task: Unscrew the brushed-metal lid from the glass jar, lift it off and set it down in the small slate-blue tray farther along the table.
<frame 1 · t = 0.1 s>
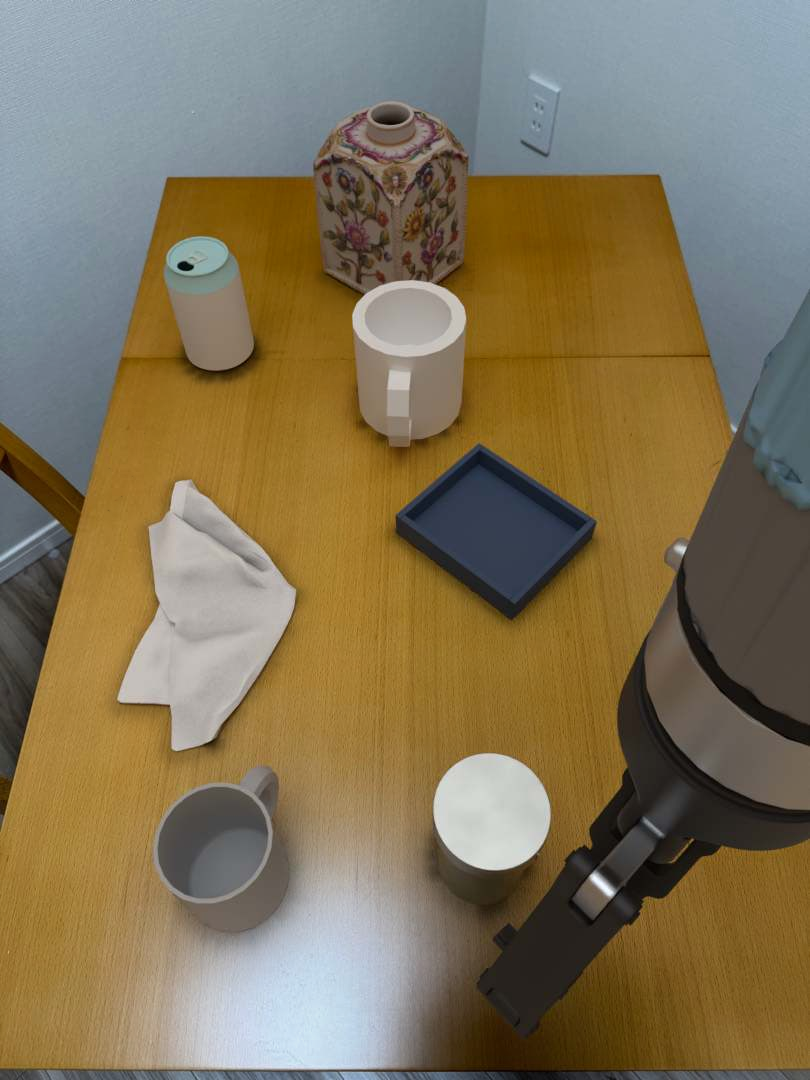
hand: (624, 873, 43), 17 cm above the table, tool pointing down, fingers open, 13 cm apart
lid: (491, 812, 51), point 11 cm above the table, screwed on, not yet turned
jar: (480, 859, 60), on the table
tray: (493, 535, 76), on the table
mug: (407, 410, 85), on the table
cloth: (214, 604, 72), on the table
cup: (248, 859, 60), on the table
decorative jar: (393, 269, 97), on the table
can: (221, 353, 90), on the table
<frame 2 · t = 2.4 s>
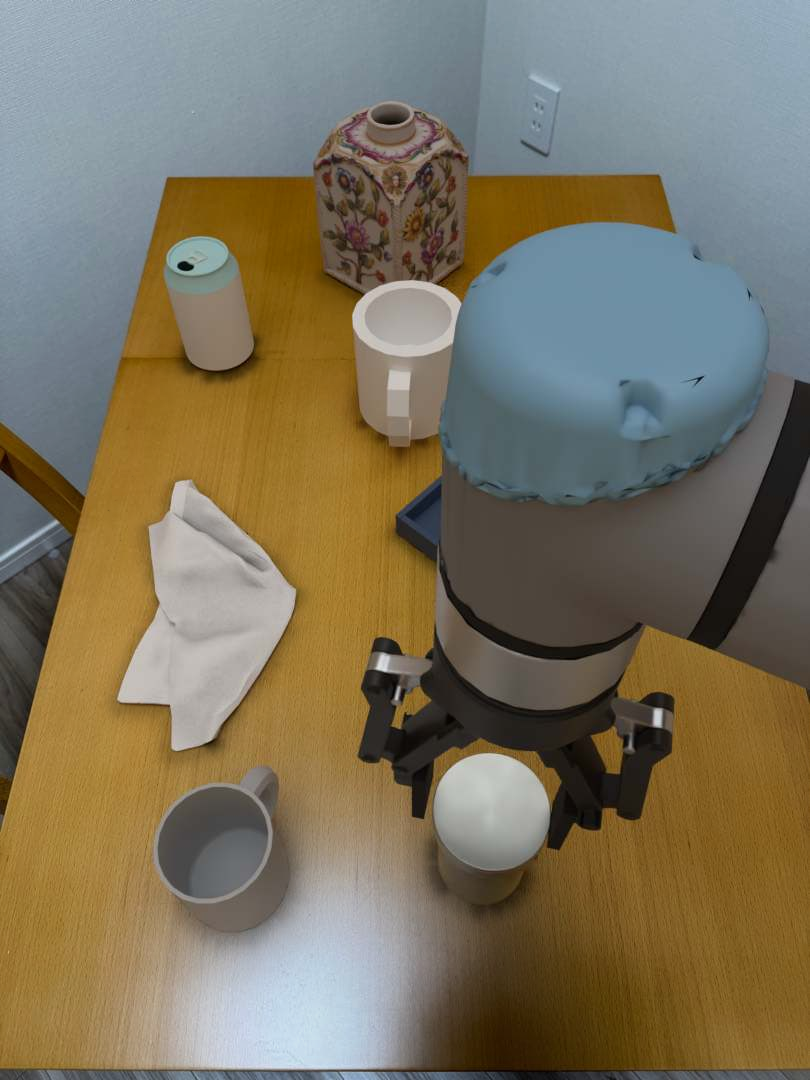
hand: (488, 810, 51), 11 cm above the table, tool pointing down, fingers open, 7 cm apart
nothing on the table moved.
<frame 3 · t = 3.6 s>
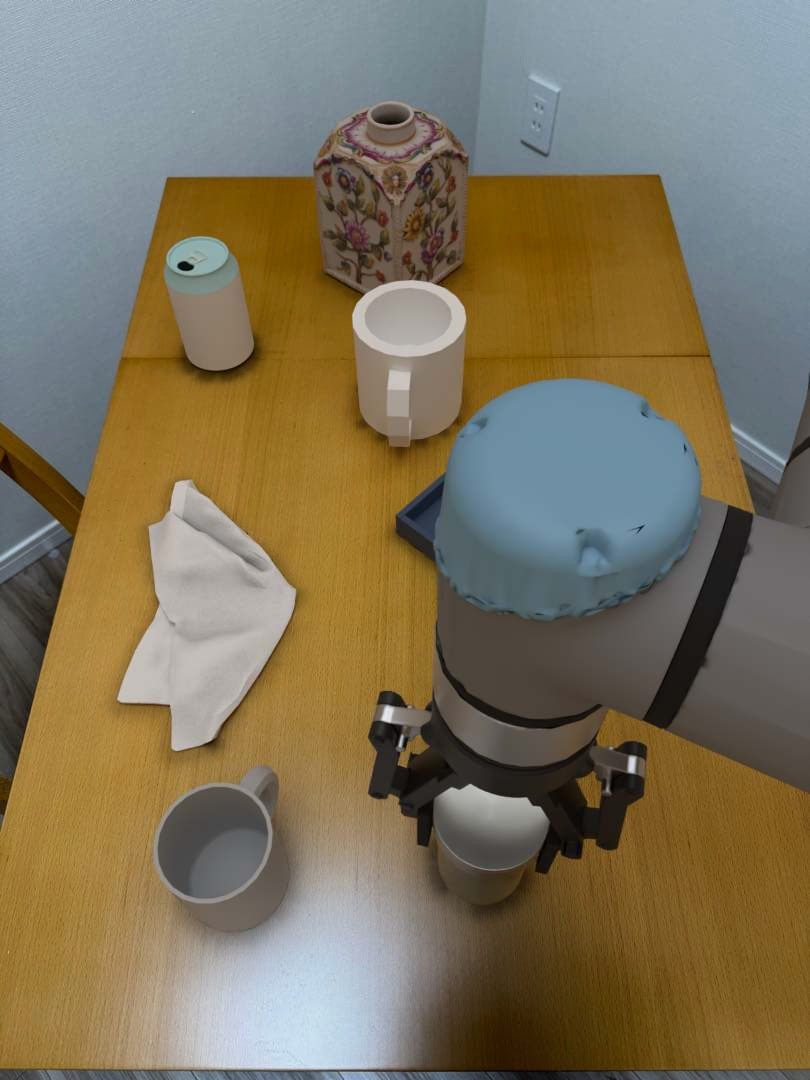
hand: (484, 838, 56), 5 cm above the table, tool pointing down, fingers closed on lid, 7 cm apart
lid: (491, 811, 51), point 11 cm above the table, screwed on, not yet turned, touching gripper
everything else where it was.
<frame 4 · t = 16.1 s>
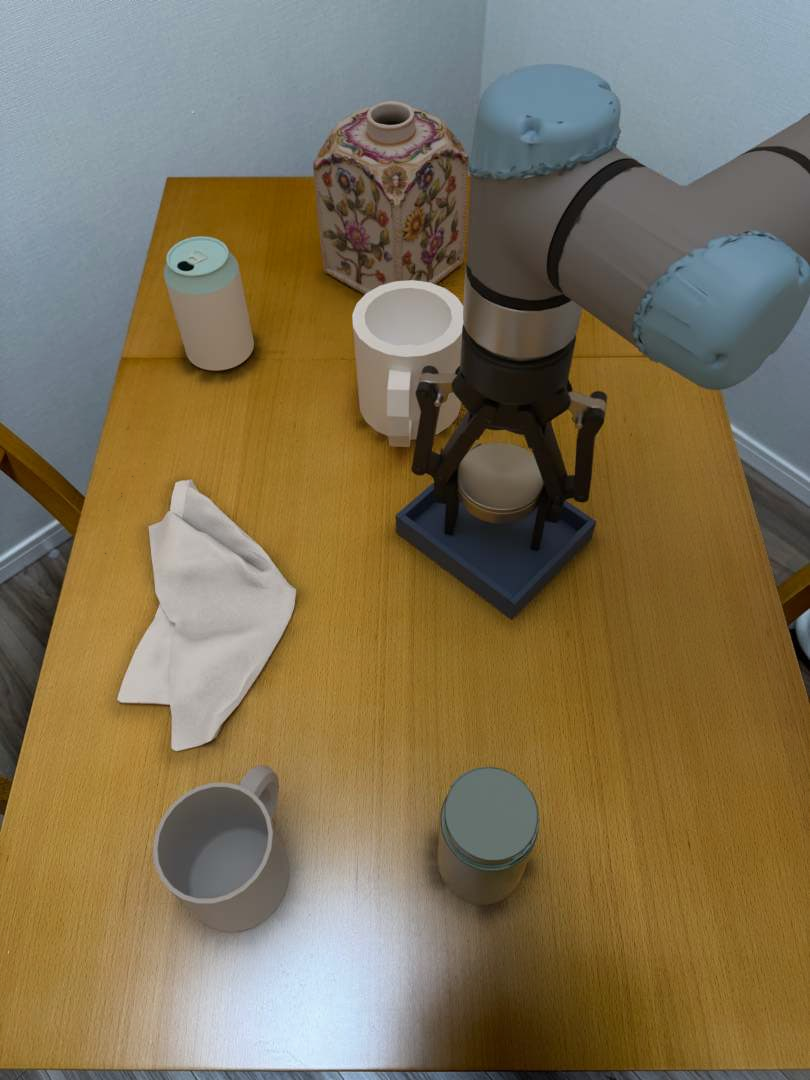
hand: (493, 529, 75), 1 cm above the table, tool pointing down, fingers closed on lid, 7 cm apart
lid: (500, 478, 69), point 8 cm above the table, off its thread, touching gripper
everything else where it was.
when the fingers open (2 cm above the table, at t = 17.1 s): lid stays where it is, resting on tray.
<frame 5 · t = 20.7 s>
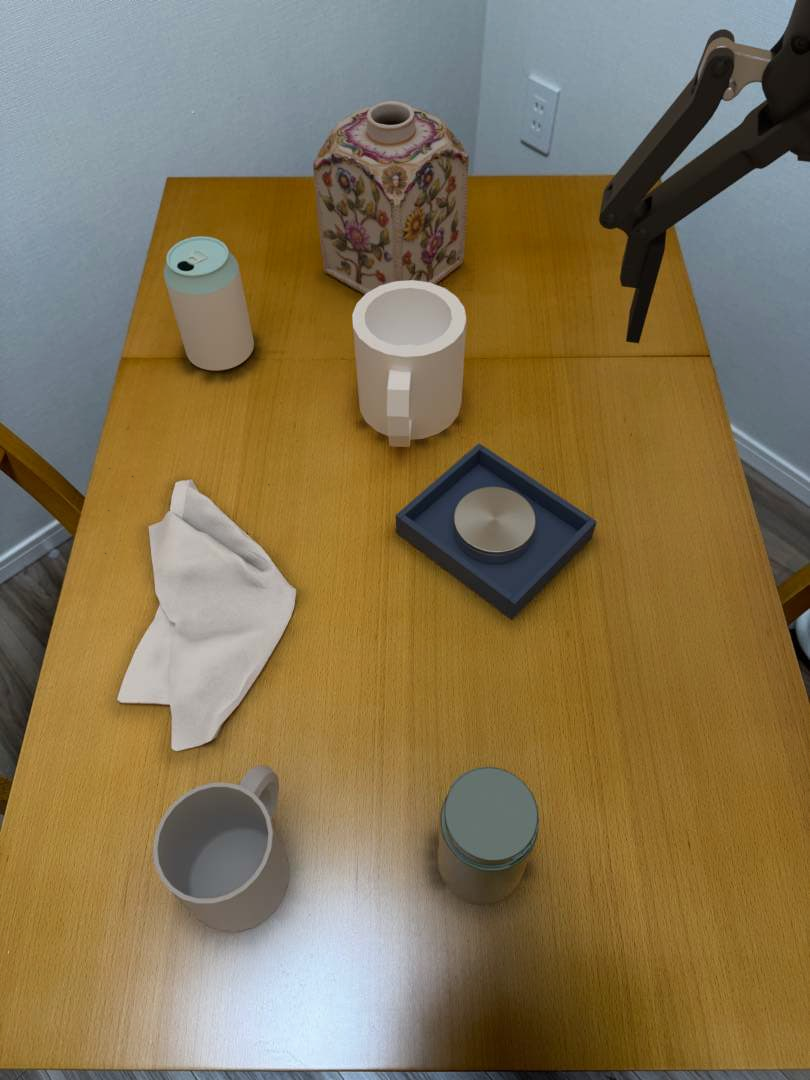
hand: (750, 344, 51), 27 cm above the table, tool pointing down, fingers open, 13 cm apart
lid: (494, 521, 74), point 2 cm above the table, off its thread, touching tray
everything else where it was.
at the end: lid came off its thread; lid inside the target area in the tray (0.1 cm from its centre), point 2.0 cm above the tray's base; the gripper is holding nothing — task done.
